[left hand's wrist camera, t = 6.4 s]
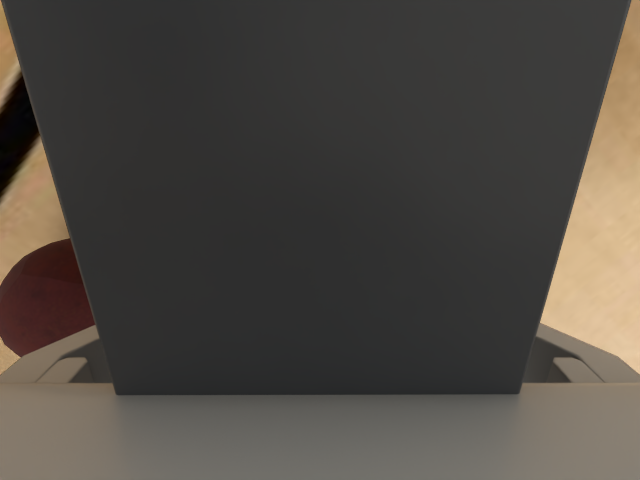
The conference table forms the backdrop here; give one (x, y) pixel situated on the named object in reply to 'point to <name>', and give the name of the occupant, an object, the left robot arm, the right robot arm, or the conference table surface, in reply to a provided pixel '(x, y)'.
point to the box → (316, 182)
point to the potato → (43, 299)
